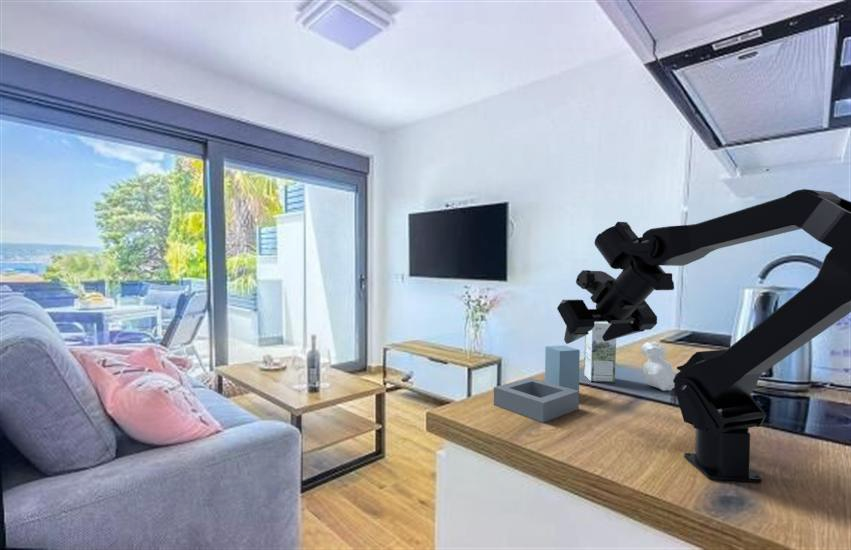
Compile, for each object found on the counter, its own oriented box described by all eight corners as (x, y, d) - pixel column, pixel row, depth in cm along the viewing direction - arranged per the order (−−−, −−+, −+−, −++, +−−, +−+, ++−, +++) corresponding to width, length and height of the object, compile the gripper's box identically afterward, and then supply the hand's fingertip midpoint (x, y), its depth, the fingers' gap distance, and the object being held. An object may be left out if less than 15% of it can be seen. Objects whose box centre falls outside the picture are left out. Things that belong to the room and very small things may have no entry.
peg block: (578, 396, 86) (579, 349, 85) (559, 398, 84) (559, 351, 84) (563, 389, 90) (564, 345, 90) (544, 391, 89) (545, 346, 89)
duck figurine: (662, 389, 99) (632, 349, 103) (692, 375, 95) (659, 334, 99) (652, 402, 89) (619, 357, 93) (684, 386, 85) (649, 340, 90)
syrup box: (607, 376, 102) (608, 319, 101) (615, 383, 96) (617, 322, 95) (583, 375, 102) (584, 318, 102) (590, 382, 96) (592, 322, 96)
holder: (578, 409, 78) (579, 391, 78) (542, 422, 71) (543, 403, 71) (529, 393, 87) (530, 377, 87) (493, 404, 80) (493, 387, 80)
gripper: (646, 257, 78) (602, 308, 88) (564, 255, 72) (529, 310, 83) (682, 301, 70) (630, 351, 81) (595, 303, 65) (551, 356, 75)
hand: (585, 340), depth 80 cm, fingers open, 9 cm apart
